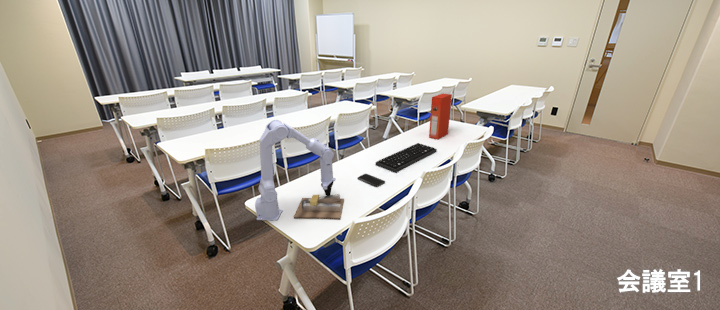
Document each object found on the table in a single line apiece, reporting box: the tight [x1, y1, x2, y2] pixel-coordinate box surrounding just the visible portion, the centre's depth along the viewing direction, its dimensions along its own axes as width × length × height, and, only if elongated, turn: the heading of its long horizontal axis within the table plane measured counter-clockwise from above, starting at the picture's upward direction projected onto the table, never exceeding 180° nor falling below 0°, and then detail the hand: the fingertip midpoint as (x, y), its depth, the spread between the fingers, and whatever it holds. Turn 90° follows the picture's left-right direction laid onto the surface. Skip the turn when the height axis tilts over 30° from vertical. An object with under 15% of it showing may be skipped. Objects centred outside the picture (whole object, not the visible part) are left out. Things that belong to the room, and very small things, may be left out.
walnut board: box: [293, 197, 345, 221], centre depth 136 cm, size 21×16×1 cm
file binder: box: [428, 93, 453, 140], centre depth 223 cm, size 8×17×32 cm, turn 139°
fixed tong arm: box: [301, 199, 341, 212], centre depth 134 cm, size 18×4×4 cm, turn 87°
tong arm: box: [308, 193, 341, 204], centre depth 139 cm, size 15×2×3 cm, turn 107°
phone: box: [357, 173, 386, 188], centre depth 162 cm, size 8×1×15 cm
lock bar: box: [310, 194, 320, 206], centre depth 133 cm, size 3×6×2 cm, turn 177°
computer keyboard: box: [375, 142, 438, 174], centre depth 189 cm, size 45×16×4 cm, turn 135°
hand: (328, 195), depth 144 cm, fingers closed
